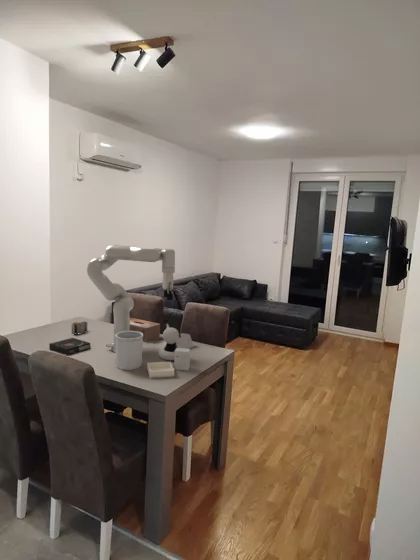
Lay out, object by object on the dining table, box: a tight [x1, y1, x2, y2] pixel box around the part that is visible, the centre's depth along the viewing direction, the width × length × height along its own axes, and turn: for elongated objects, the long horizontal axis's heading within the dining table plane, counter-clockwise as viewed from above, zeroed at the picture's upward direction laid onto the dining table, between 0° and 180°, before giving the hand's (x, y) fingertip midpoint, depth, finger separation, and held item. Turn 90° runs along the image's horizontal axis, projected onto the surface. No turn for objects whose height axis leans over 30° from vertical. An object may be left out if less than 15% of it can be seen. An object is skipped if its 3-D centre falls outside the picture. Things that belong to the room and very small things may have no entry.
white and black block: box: [176, 333, 195, 349], centre depth 237 cm, size 17×5×10 cm, turn 140°
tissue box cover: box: [130, 317, 161, 343], centre depth 257 cm, size 26×14×10 cm, turn 59°
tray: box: [146, 361, 175, 379], centre depth 194 cm, size 13×13×4 cm
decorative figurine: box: [158, 323, 182, 362], centre depth 218 cm, size 15×15×20 cm
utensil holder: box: [115, 331, 144, 371], centre depth 202 cm, size 15×15×18 cm
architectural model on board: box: [71, 320, 88, 336], centre depth 257 cm, size 11×3×10 cm, turn 149°
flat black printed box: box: [48, 337, 92, 356], centre depth 224 cm, size 16×17×4 cm
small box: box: [173, 348, 191, 371], centre depth 202 cm, size 8×6×10 cm
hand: (168, 298), depth 222 cm, fingers open, 9 cm apart
